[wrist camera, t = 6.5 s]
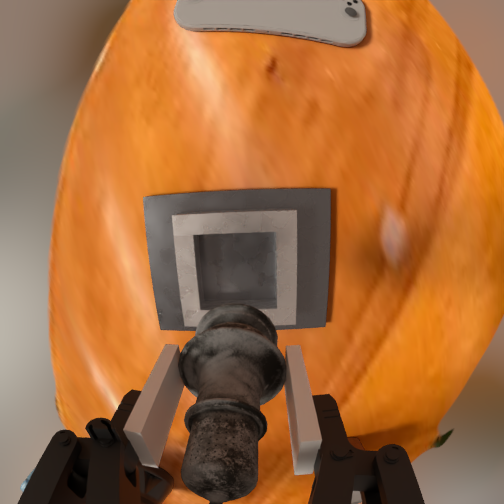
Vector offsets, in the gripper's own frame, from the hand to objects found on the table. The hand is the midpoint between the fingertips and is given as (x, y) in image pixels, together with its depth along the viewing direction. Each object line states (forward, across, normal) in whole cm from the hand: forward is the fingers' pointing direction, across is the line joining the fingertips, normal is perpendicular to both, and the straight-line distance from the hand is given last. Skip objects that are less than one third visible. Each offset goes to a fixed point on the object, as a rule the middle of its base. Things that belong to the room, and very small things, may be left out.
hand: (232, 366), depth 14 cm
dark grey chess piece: (+3, 0, 0) cm, 3 cm away
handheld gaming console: (+18, -4, -32) cm, 37 cm away
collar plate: (+17, +1, -1) cm, 17 cm away
